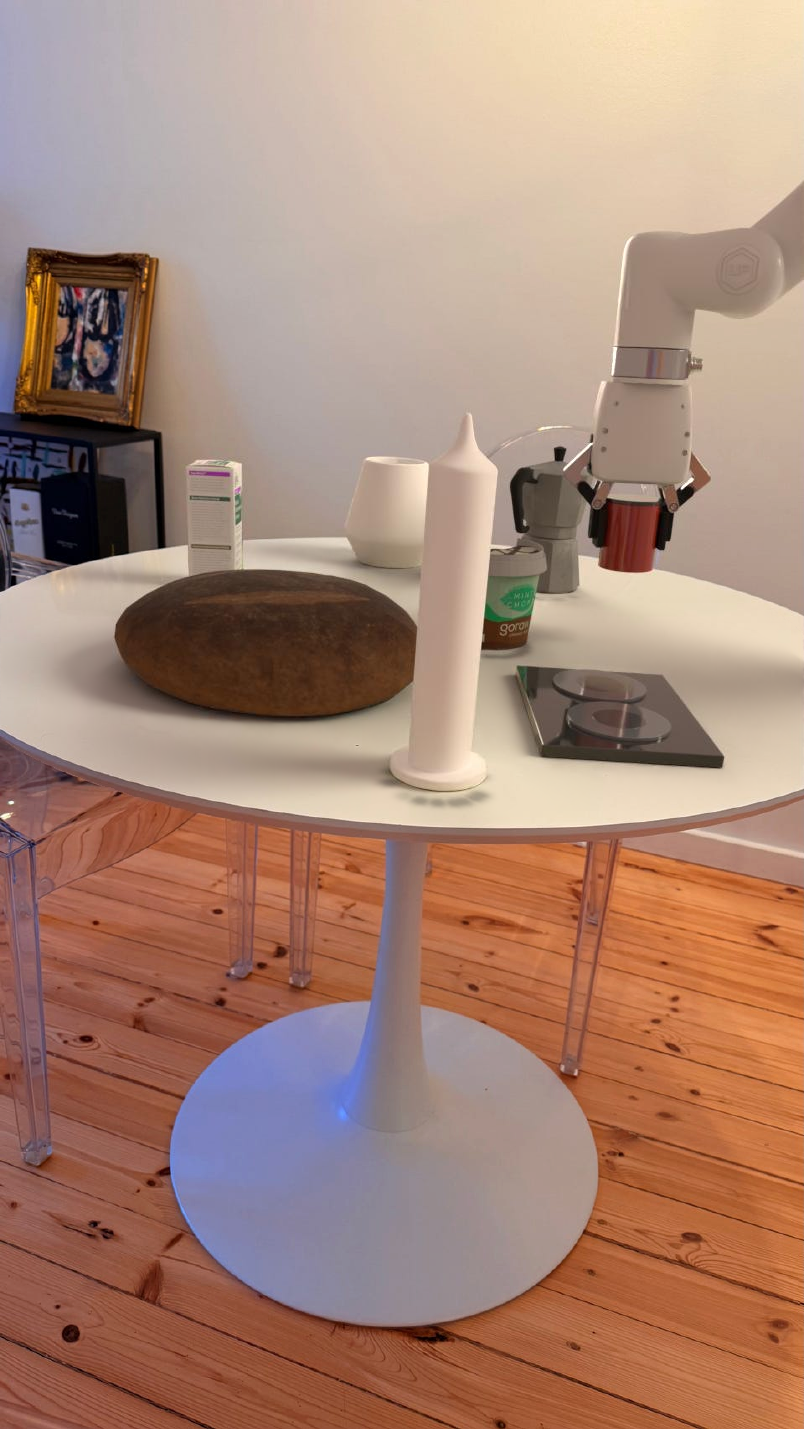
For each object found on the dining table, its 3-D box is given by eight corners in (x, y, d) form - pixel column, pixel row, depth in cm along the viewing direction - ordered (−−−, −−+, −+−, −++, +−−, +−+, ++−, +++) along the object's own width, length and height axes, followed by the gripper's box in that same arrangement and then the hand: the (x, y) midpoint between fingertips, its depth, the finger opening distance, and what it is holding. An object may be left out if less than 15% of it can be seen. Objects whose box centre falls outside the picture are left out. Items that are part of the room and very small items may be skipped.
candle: (380, 784, 69) (403, 411, 60) (399, 747, 76) (422, 406, 67) (481, 797, 68) (519, 420, 59) (491, 759, 75) (526, 414, 66)
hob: (661, 684, 95) (663, 671, 94) (722, 768, 76) (725, 752, 75) (515, 675, 94) (516, 662, 94) (540, 756, 76) (542, 740, 75)
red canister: (646, 563, 110) (655, 495, 107) (659, 574, 104) (668, 503, 101) (592, 560, 109) (600, 492, 107) (602, 571, 104) (610, 500, 101)
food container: (499, 661, 98) (509, 561, 95) (448, 647, 102) (456, 550, 98) (559, 638, 108) (570, 547, 104) (510, 626, 111) (520, 537, 108)
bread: (103, 632, 99) (99, 545, 96) (361, 622, 108) (365, 543, 105) (137, 737, 74) (133, 624, 71) (468, 712, 84) (477, 612, 81)
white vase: (338, 567, 134) (343, 462, 129) (347, 548, 147) (351, 452, 142) (437, 574, 134) (445, 469, 129) (437, 555, 146) (445, 458, 142)
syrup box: (236, 590, 119) (236, 466, 113) (186, 587, 118) (185, 463, 113) (243, 579, 124) (244, 461, 119) (196, 576, 124) (194, 457, 119)
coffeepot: (547, 573, 139) (562, 441, 133) (602, 587, 133) (621, 449, 127) (473, 585, 129) (486, 443, 123) (529, 601, 123) (546, 452, 117)
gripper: (723, 371, 103) (698, 544, 109) (558, 364, 103) (542, 537, 109) (746, 373, 96) (718, 557, 102) (569, 365, 96) (552, 550, 102)
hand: (627, 545), depth 106 cm, fingers closed on red canister, 5 cm apart
